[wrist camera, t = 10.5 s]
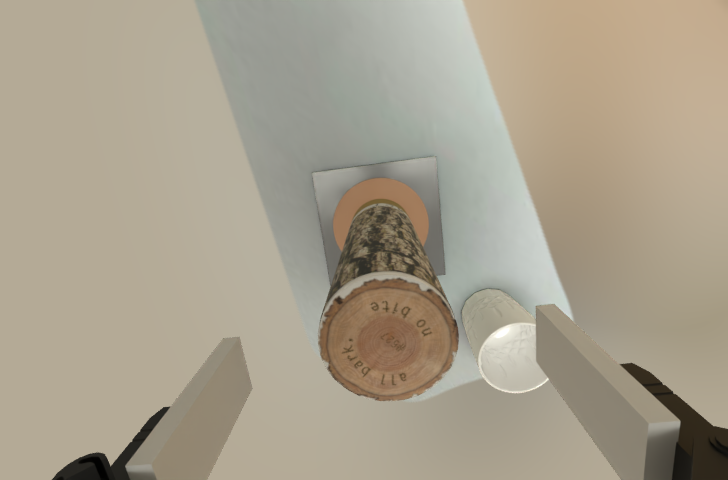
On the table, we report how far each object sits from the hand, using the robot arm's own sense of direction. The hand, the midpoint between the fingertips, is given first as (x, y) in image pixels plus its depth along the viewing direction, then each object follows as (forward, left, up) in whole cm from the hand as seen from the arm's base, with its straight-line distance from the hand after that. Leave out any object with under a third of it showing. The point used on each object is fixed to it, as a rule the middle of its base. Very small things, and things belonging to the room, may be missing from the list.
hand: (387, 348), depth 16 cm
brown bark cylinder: (0, 0, -27) cm, 27 cm away
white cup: (+13, +12, -28) cm, 33 cm away
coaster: (0, 0, -28) cm, 28 cm away
